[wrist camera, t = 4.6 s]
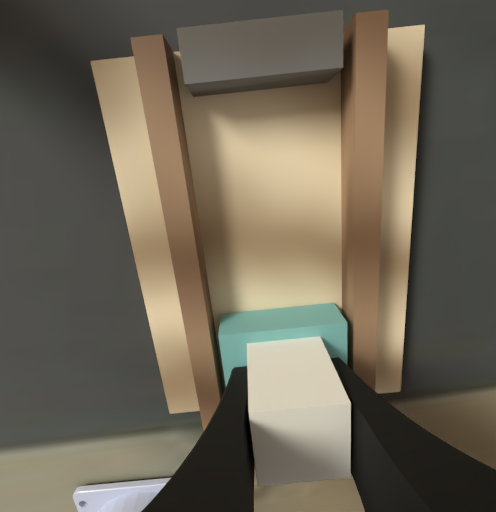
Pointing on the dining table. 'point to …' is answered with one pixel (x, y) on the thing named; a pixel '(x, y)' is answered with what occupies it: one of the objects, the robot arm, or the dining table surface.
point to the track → (268, 183)
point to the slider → (292, 390)
